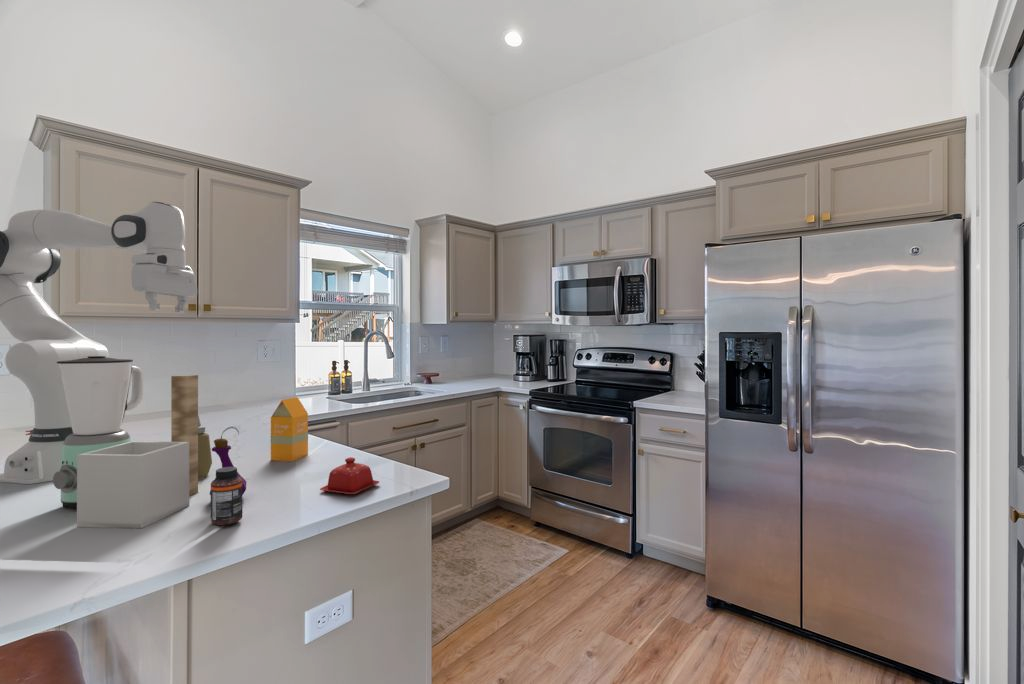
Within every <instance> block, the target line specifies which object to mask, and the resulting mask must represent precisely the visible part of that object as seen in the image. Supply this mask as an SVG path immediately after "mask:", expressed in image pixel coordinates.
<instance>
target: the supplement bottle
mask: <svg viewBox="0 0 1024 684" xmlns="http://www.w3.org/2000/svg"><path fill="white" fill-rule="evenodd" d="M237 472H238V468H237V467H235V466H234V467H223V468H222V467H220V468H218V469H216V470H215V478H214V479H213V480H212V481H211V482H210V490H211V495H210V523H211V524H212V525H214V526H227V525H228V526H229V525H232V524H236V523H237V522H239V521H241V520H242V518H243V495H242V479H241V478H240V477H238V475H237Z"/></svg>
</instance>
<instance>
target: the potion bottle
mask: <svg viewBox="0 0 1024 684" xmlns="http://www.w3.org/2000/svg"><path fill="white" fill-rule="evenodd" d="M230 429H235V431H236V432H237V435H240V431H239V429H238V428H237V427H235V426H233V425H232V426H228V427H227V428H225V429H224V430H223V431H222V433H221V436H220V438H216V439H215V440H213V443H214V444H213V445H214V447H212V448H211V452H215V454H216V455H217V456H218V457H219V459H220V463H221V468H223V467H235V466H234V464H233V462H232V460H231V458H230V456H229V451H230V450H231V449H232V446H231V445H228V444H229V441H228V439H227V438H223V435H224V433H225V432H226V431H228V430H230ZM237 475H238V477H240V478H241V479H242V496H244V494H245V493H246V491H247V480H246V479H245V478H243V476H242V475H241V474H240V473H239V472H238V471H237ZM209 495H210V496H211V489H210V491H209Z"/></svg>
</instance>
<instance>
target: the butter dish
mask: <svg viewBox="0 0 1024 684" xmlns="http://www.w3.org/2000/svg"><path fill="white" fill-rule="evenodd" d="M344 461H345V464H341V465H339V466H336V467H335V468H333V469H331V470H330V473H329V476H328V481H327V484H326V485H325V486H322V487H320V488H319V490H320V491H322V492H323V491H324V492H330V493H335V492H336V494H341V493H344V495H348V494H354V495H356V494H358V493H361V492H362V490H363V491H365V490H367V489H369V488H372V487H374V486H375V485H379V483H380V481H379V480H374V477H373V474H372V473H373V472H372V469H371V468H370V466H368V465H366V464H363V463H357V462H355V461H356V458H355V457H351V456H350V457H346V458H345V459H344Z"/></svg>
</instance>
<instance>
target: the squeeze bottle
mask: <svg viewBox="0 0 1024 684" xmlns="http://www.w3.org/2000/svg"><path fill="white" fill-rule="evenodd" d="M200 420H201V419H200V416H199V415H198V480H200V479H203V478H207V477H208V476H209V473H210V470H211V467H212V465H213V459H212V448H211V441H210V434H208V433H207V432H206V425H202V424H201V421H200Z"/></svg>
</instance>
